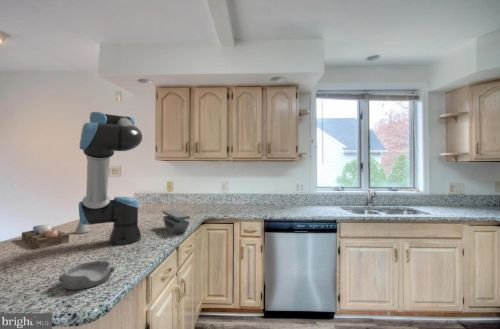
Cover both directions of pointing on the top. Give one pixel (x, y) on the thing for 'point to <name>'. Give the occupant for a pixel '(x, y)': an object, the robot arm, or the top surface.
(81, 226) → the flask
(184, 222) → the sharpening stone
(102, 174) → the robot arm
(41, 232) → the off-white round ball
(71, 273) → the dish
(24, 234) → the wooden egg tray
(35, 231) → the blue rounded lump
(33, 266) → the top surface
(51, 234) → the peach orange ball
